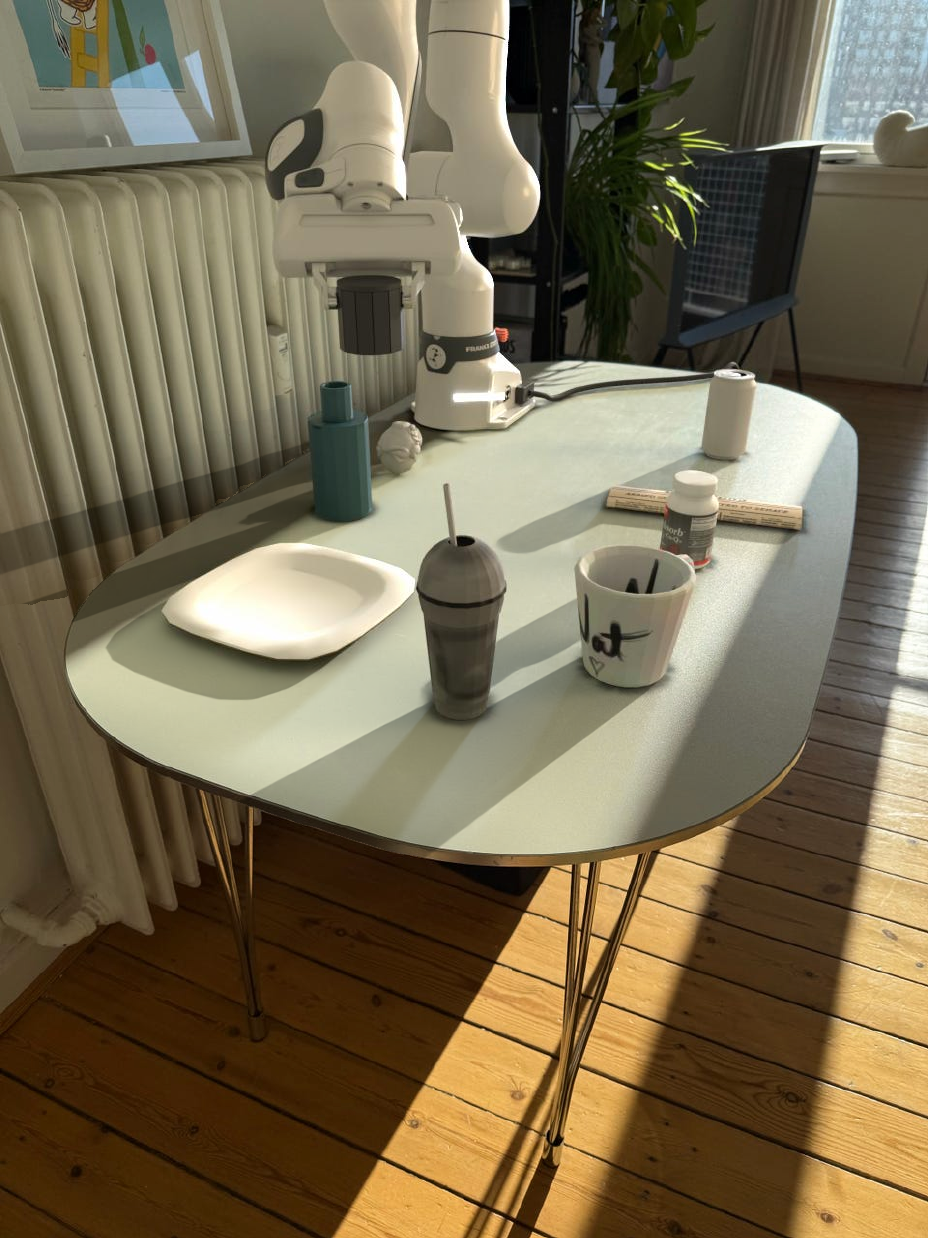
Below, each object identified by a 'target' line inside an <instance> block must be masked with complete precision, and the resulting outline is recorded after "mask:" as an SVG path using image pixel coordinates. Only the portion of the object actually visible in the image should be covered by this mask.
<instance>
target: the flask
mask: <svg viewBox="0 0 928 1238" xmlns="http://www.w3.org/2000/svg"><path fill="white" fill-rule="evenodd" d="M352 390H353V389H352V384H351V383H350V382H348V381H345V380H344V381H343V380H331V381H326V382H322V383H321V384H320V385H319V394H320V407H321V408H320V409H321V410H320V411H318V412H315V413H312V414H311V415H309V416H307V430H308V441H309V452H310V466H311V478H312V489H313V490H312V491H313V503H314V512H315V515H316V516H317V517H318V518H320V519H321V520H325V521H330V522H342V523H343V522H344V523H345V522H353V521H358V520H361V519H363V518H366V517H368V516H369V515H371V513H372V512H373V491H372V489H373V488H372V472H371V453H370V451H371V450H370V432H369V431H370V430H369V429H370V428H369V418H368V414H366V413H364V412H362V411H358V410H354V409H353V391H352Z"/></svg>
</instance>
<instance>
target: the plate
mask: <svg viewBox="0 0 928 1238" xmlns="http://www.w3.org/2000/svg"><path fill="white" fill-rule="evenodd" d="M415 584H416V578H414V577H412V576H411V575H410V574H409V573H407V572H406V571H405V570H404V569H403V568H400V567H398V566H394V565H392V564H389V563H387V562H384V561H381V560H377V559H375V558H374V559H373V558H371V557H366V556H363V555H360V554H356V553H351V552H347V551H344V550H340V549H336V548H331V547H327V546H321V545H318V544H317V545H316V544H310V543H304V542H289V543H288V542H278V543H274V544H270V545H265V546H262V547H258V548H254V549H252V550H250V551H248V552H245V553H243V554H240V555H237V556H236V557H234V558H232V559H230V560H228V561H227V562H225V563H223V564H221V565H219V566H217V567H215V568H214V569H212V570H210V571H209V572H207V573H205V574H203V575H201V576H200V577H198V578H196V579H195V580H193V581H190V582H189V583H188V584H186V585H185V586H184V587H182V588H181V589H179V590H178V591H176V592H175V593H174V594H172V595H171V596H169V598H168V599H167V601H166V602H165V604H164V606H163V608H162V609H161V614H162V615H163V616H164V618H165V619H166V621H167V623H169V625H171V626H172V627H175V628H177V629H179V630H181V631H183V632H185V633H188V634H189V635H191V636H193V637H197V638H200V639H202V640H206V641H208V642H211V643H214V644H216V645H219V646H223V647H225V648H229V649H232V650H234V651H237V652H241V653H244V654H247V655H251V656H256V657H260V658H265V659H269V660H274V661H278V662H310V661H314V660H316V659H320V658H323V657H327V656H329V655H334V654H336V653H338V652H340V651H342V650H344V649H345V648H347V647H348V646H350V645H352V644H353V643H355V642H357V641H358V640H360V639H361V638H363V637H364V636H366V635H367V634H368V633H370V632H371V631H372V630H373V629H375V628H376V627H377V626H379V625H380V624H381V623H383V622H384V621H385V620H386V619H387V618H389V617H391V616H392V614H394V613H395V612H396V611H397V610H399V609H400V608H401V607H402V606H403V605H404V604H405V603H406V602H407V601H408V600H409V599H410V597H412V596H413V594H414V591H415Z"/></svg>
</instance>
